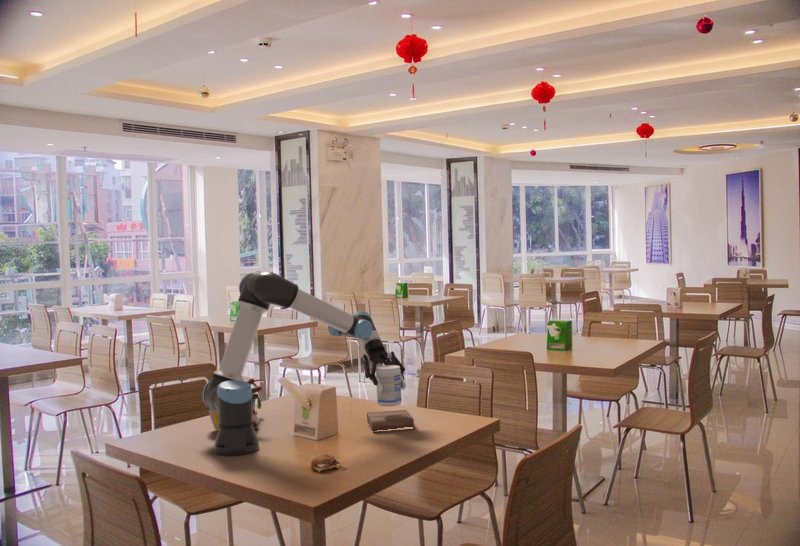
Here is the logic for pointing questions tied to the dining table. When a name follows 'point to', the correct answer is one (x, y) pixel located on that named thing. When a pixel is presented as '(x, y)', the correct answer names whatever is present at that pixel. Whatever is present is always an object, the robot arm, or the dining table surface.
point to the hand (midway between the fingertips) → (392, 389)
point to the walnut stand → (389, 420)
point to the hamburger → (325, 463)
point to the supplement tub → (389, 385)
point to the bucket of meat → (255, 419)
